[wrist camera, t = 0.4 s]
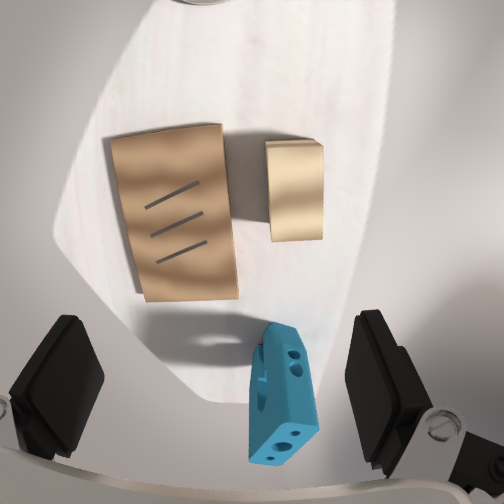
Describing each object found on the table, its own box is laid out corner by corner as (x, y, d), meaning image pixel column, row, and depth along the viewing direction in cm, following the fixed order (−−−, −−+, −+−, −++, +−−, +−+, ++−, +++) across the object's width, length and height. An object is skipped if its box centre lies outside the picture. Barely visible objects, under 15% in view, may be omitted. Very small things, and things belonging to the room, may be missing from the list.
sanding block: (265, 140, 38) (267, 148, 33) (313, 138, 38) (323, 146, 33) (269, 222, 43) (271, 242, 38) (313, 220, 43) (322, 239, 38)
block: (274, 368, 56) (279, 466, 38) (248, 362, 55) (246, 462, 38) (303, 321, 51) (322, 426, 33) (274, 313, 50) (283, 421, 32)
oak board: (116, 138, 38) (109, 141, 36) (222, 124, 37) (220, 125, 35) (149, 294, 49) (145, 302, 47) (238, 291, 48) (238, 299, 46)
